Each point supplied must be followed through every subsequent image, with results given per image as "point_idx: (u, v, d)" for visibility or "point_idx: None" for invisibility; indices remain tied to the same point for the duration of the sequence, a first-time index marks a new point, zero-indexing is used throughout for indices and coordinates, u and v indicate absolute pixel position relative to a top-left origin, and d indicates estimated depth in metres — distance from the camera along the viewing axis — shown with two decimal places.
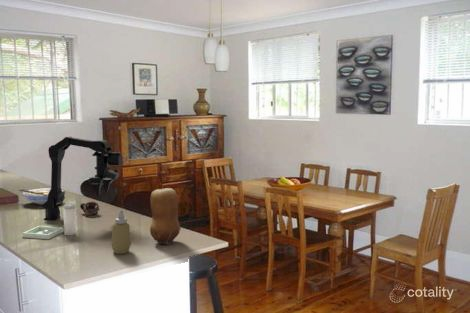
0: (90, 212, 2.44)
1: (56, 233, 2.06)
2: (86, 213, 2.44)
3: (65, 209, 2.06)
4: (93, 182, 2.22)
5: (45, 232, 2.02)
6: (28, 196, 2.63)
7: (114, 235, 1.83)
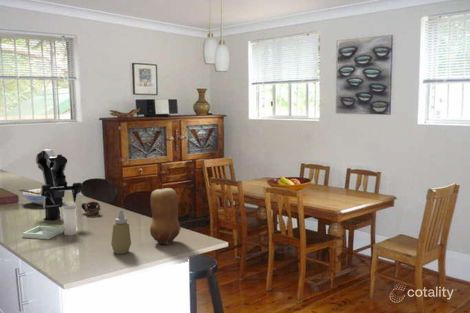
0: (91, 212, 2.45)
1: (56, 233, 2.06)
2: (87, 213, 2.45)
3: (65, 209, 2.06)
4: None
5: (45, 232, 2.02)
6: (28, 196, 2.63)
7: (114, 235, 1.83)
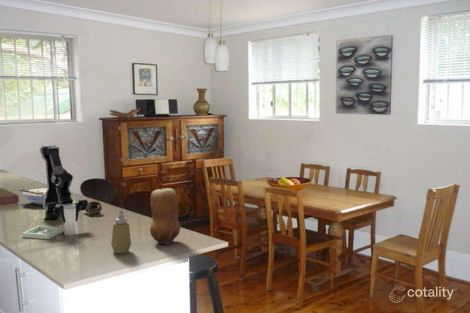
0: (93, 211, 2.46)
1: (56, 233, 2.06)
2: (89, 212, 2.46)
3: (65, 209, 2.06)
4: None
5: (45, 232, 2.02)
6: (28, 196, 2.63)
7: (114, 235, 1.83)
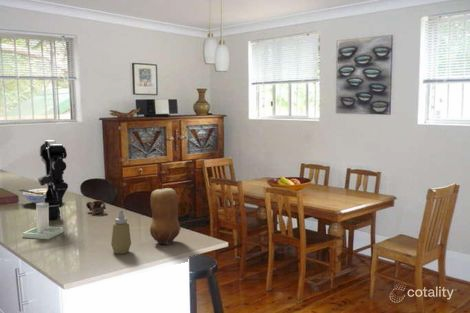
0: (97, 210, 2.48)
1: (56, 233, 2.06)
2: (93, 212, 2.48)
3: (36, 207, 2.05)
4: None
5: (45, 232, 2.02)
6: (28, 196, 2.63)
7: (114, 235, 1.83)
